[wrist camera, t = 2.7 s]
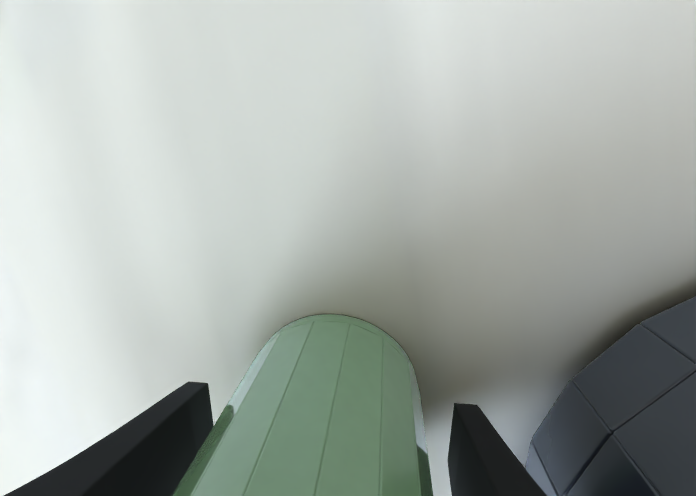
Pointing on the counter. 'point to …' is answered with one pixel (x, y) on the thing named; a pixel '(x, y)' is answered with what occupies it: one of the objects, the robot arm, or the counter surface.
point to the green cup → (319, 419)
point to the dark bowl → (626, 417)
